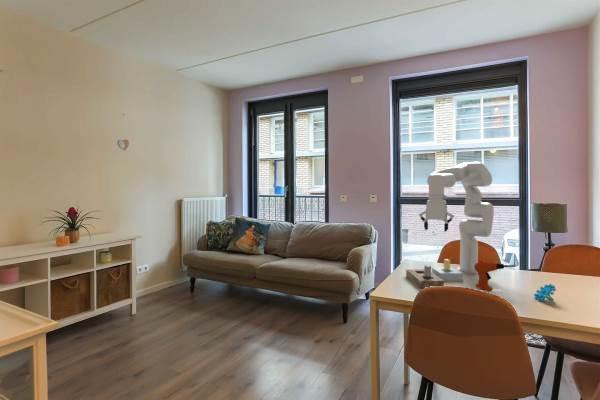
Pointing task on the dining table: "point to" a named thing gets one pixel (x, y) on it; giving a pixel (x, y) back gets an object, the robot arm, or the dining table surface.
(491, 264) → the toy drill
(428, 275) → the steel drill bit
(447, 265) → the gold drill bit
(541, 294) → the blue flower bunch
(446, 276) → the socket block
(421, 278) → the bit rack
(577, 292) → the dining table surface
